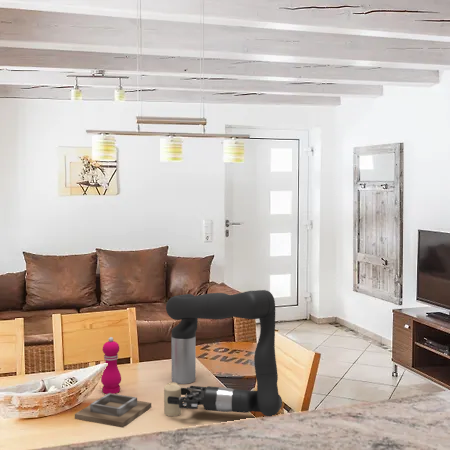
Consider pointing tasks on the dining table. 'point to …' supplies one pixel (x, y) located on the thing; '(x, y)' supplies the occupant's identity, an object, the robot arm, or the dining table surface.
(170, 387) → the candle
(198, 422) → the dining table surface
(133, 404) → the board
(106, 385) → the pepper mill
